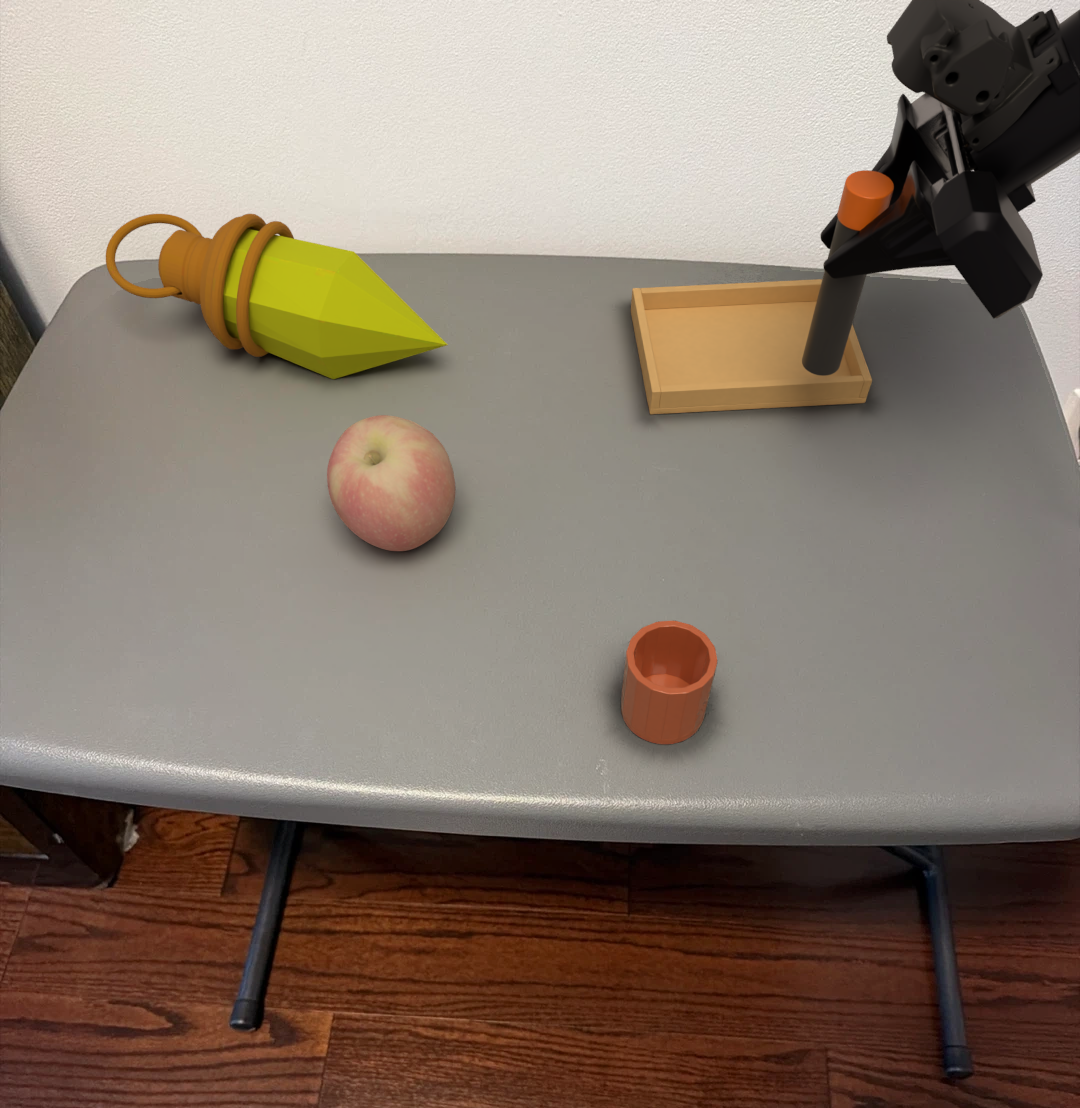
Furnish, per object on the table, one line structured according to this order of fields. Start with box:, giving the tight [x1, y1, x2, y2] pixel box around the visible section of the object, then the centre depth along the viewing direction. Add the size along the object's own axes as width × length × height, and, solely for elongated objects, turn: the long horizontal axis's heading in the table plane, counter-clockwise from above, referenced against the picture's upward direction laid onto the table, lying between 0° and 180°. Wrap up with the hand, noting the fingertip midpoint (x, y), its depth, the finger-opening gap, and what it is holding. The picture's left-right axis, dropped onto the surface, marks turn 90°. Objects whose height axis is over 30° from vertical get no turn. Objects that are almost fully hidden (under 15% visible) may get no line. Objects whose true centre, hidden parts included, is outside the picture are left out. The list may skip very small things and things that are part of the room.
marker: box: [802, 169, 894, 376], centre depth 63 cm, size 3×3×12 cm
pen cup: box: [620, 620, 718, 745], centre depth 60 cm, size 5×5×5 cm
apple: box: [326, 414, 456, 552], centre depth 66 cm, size 8×8×8 cm
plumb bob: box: [105, 213, 449, 380], centre depth 75 cm, size 9×9×25 cm
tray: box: [630, 278, 873, 415], centre depth 77 cm, size 15×11×2 cm
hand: (825, 256), depth 62 cm, fingers closed on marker, 2 cm apart
